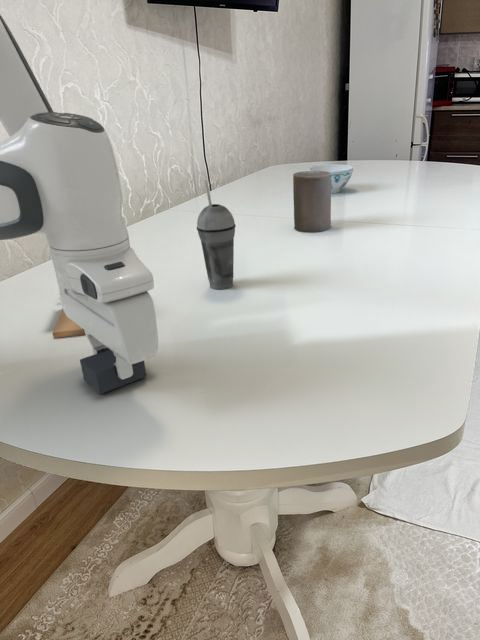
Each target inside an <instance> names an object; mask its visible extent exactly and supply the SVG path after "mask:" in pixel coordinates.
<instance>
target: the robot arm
mask: <svg viewBox="0 0 480 640" xmlns="http://www.w3.org/2000/svg"><path fill="white" fill-rule="evenodd" d="M7 24H8V23H6V21H5V19H4V18H3V16H2V15H1V14H0V122H1V124H2V127H3V128H4V129H5V131H6V133H7V135H8V136H9V137H7V138H6V139H5V140H3V141H1V142H0V241H4V240H15V239H19V238H23V237H27V236H30V235H33V234H40V235H43V236H45V237H46V240H47V242H48V247H49V252H50V257H51V260H52V264H53V268H54V274H55V278H56V283H57V286H58V293H59V298H60V303H61V307H62V309H63V310H64V312H65V314H66V316H67V317H68V318H69V319H71V320H72V321H73V322H75V323H76V324H77V325H79V326H80V327H81V328H83V329H84V330H85V336H86V338H87V340H88V343H89V344H90V347H91V349H92V355H95V354H98V353H101V352H103V351H107V350H109V349H110V350H112V351H113V353H114V356H116V363H114V364H113V365H114V370H115V374H116V375H117V376H118V377H119V378H120V379H126V378H129V377H131V376H132V375H133V369H132V364H135V363H138V362H141V361H144V362H145V361H146V360H148V359H151V358H153V357H155V356H156V354H157V353H158V349H159V334H158V333H159V332H158V325H157V324H158V323H157V316H156V310H155V309H156V308H155V304H154V301H153V297H152V296H151V294H150V292H149V291H151V290H153V289H154V287H155V281H154V275H153V273H152V271H151V270H150V268H148V267H147V266H146V265H145V264H144V262H143V261H142V260H141V259H140V258H139V257H138V255H137V253H136V251H135V250H134V249H133V247H131V242H130V237H129V236H130V235H129V232H128V228H127V227H126V224H125V221H124V219H123V214H122V213H123V211H122V207H123V201H124V200H123V199H124V197H123V189H122V185H121V184H122V183H121V179H120V173H119V169H118V164H117V160H116V155H115V151H114V148H113V144H112V142H111V139H110V137H109V135H108V132H107V130H106V129H105V128H104V126H103V125H102V124H101V123H100V122H99V121H97V120H95V119H93V118H91V117H89V116H85V115H81V114H76V113H69V112H57V111H54V110H53V108H52V107H51V104H50V103H49V101H48V99H47V96H46V94H45V93H44V91H43V89H42V87H41V85H40V82H39V81H38V80H37V78H36V76H35V73H34V72H33V70H32V68H31V66H30V64H29V62H28V60H27V58H26V57H25V55H24V53H23V50H22V49H21V47H20V45H19V43H18V42H17V40H16V39H15V36H14V35H13V33H12V31H11V29H10V28H9V26H8V25H7Z"/></svg>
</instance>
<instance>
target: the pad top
mask: <svg viewBox="0 0 480 640" xmlns="http://www.w3.org/2000/svg"><path fill="white" fill-rule="evenodd" d="M79 362H80V363H79V364H80V367H81V372H82V376H83V380H84V381H85V382H86V383H87V384H88V385H90V386H91V387H92V389H94V390H95V391H96V392H97V393H98V394H99V395H102V394H105V393H108V392H110V391H113V390H116V389H117V388H120V387H124V386H125V385H129V384H131V383H134V382H136V381H138V380H141V379H144V378H147V370H146V364H145V360H144V361H141V362H138V363H135V364H132V369H133V375H132V376H131V377H129V378H126V379H120V378H119V377H118V376H117V375H116V374H115V370H114V365H113V364H114V363H116V356H114V353H113V351H112V350H110V349H109V350H107V351H103V352H101V353H98V354H95V355H93V354H92V355H89V356H87V357H83V358H81V359H79Z"/></svg>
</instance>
